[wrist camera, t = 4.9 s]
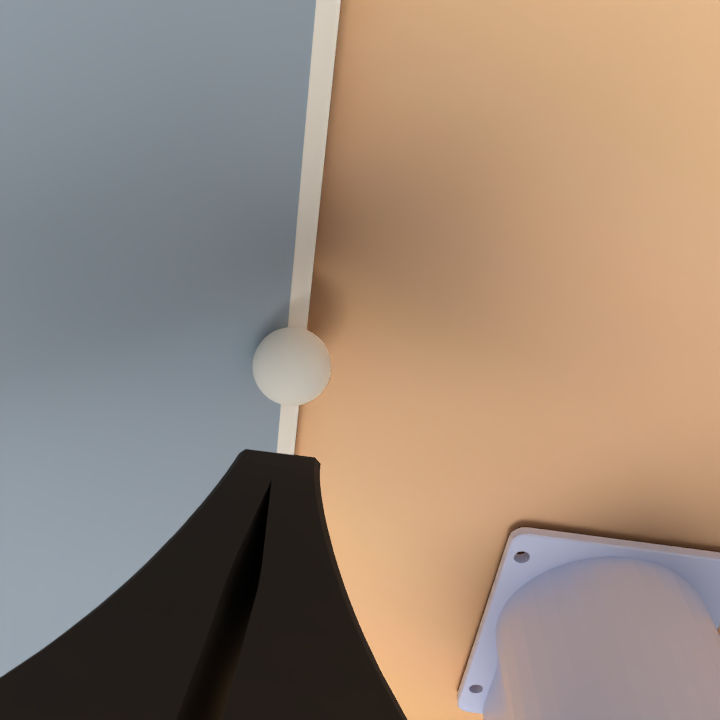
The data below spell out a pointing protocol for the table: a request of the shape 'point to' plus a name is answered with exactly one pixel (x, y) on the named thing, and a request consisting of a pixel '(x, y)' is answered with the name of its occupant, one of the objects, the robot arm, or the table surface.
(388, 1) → the table surface
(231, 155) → the lid
